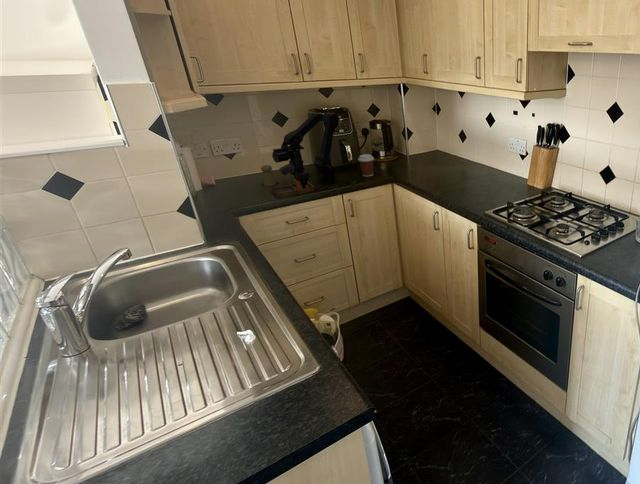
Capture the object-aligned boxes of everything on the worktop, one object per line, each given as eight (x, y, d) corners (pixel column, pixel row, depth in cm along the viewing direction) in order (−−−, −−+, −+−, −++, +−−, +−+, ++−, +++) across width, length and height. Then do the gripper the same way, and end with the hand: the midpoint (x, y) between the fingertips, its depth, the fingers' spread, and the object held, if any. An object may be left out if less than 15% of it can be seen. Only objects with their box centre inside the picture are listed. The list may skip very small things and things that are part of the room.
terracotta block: (305, 186, 223) (303, 177, 221) (308, 188, 220) (306, 179, 218) (295, 188, 220) (293, 179, 218) (298, 190, 217) (296, 181, 215)
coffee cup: (357, 176, 244) (354, 156, 239) (367, 172, 252) (364, 153, 247) (369, 177, 241) (366, 158, 236) (379, 173, 249) (376, 154, 244)
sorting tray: (308, 185, 227) (307, 181, 226) (314, 190, 219) (314, 186, 218) (272, 191, 216) (271, 187, 215) (278, 198, 208) (277, 193, 207)
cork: (271, 186, 224) (266, 167, 219) (261, 185, 225) (256, 166, 221) (278, 183, 229) (274, 164, 225) (269, 182, 230) (265, 163, 226)
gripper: (274, 157, 215) (281, 185, 221) (283, 165, 202) (290, 194, 208) (297, 154, 221) (302, 181, 228) (307, 161, 209) (313, 190, 215)
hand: (301, 186), depth 220 cm, fingers open, 9 cm apart
